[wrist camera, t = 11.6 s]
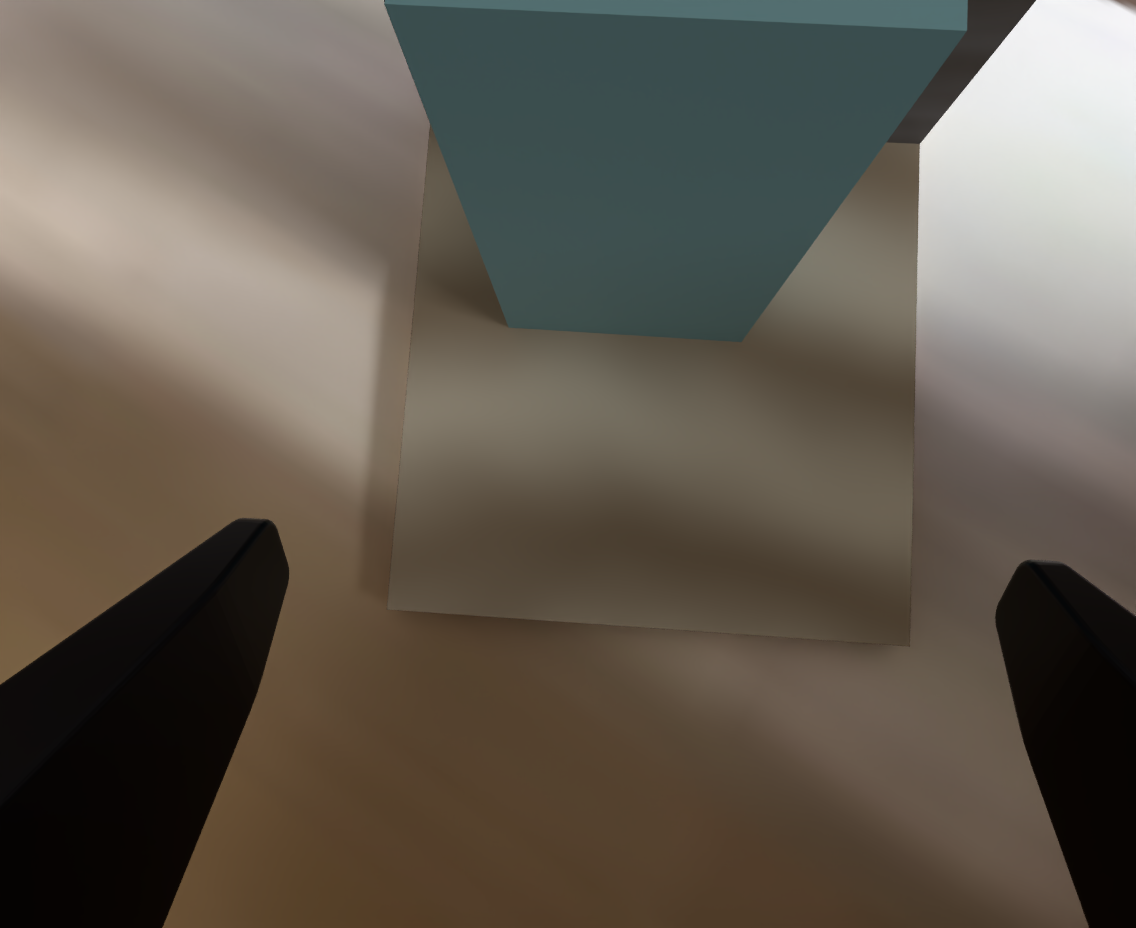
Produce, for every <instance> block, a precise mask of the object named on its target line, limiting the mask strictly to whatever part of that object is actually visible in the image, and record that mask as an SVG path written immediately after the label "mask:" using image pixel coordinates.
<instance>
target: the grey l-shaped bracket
mask: <svg viewBox="0 0 1136 928" xmlns="http://www.w3.org/2000/svg"><path fill="white" fill-rule="evenodd" d="M1035 1H1036V0H968V10H967V32H966V33H965V34H964V36H963V37H962V38H961V40H960V41H959V43H958V44H957V45H956V47H955V48H954V50H953V51H952V52H951V54H950V55H949V56H948V58H947V59H946V61H945V62H944V63H943V65H942V66H941V67H940V69H939V70H938V72H937V73H936V74H935V76H934V77H933V78H932V80H931V81H930V83H929V84H928V85H927V87H926V88H925V90H924V91H923V92H922V94H921V95H920V96H919V98H918V99H917V101H916V102H915V103H914V105H913V106H912V107H911V109H910V110H909V112H908V113H907V114H906V116H905V117H904V118H903V120H902V121H901V123H900V124H899V125H898V127H897V128H896V130H895V131H894V132H893V134H892V135H891V136H890V138H889V139H888V141H887V142H886V143H885V145H884V146H883V147H882V149H881V150H880V152H879V153H878V154H877V156H876V157H875V158H874V160H873V161H872V163H871V164H870V165H869V167H868V168H867V170H866V171H865V172H864V174H863V175H862V176H861V178H860V179H859V181H858V182H857V183H856V185H855V186H854V187H853V189H852V190H851V192H850V193H849V194H848V196H847V197H846V198H845V200H844V201H843V203H842V204H841V205H840V207H839V208H838V210H837V211H836V212H835V214H834V215H833V216H832V218H831V219H830V221H829V222H828V223H827V225H826V226H825V227H824V229H823V230H822V232H821V233H820V234H819V236H818V237H817V238H816V240H815V241H814V243H813V244H812V245H811V247H810V248H809V250H808V251H807V252H806V254H805V255H804V256H803V258H802V259H801V261H800V262H799V263H798V265H797V266H796V267H795V269H794V270H793V272H792V273H791V274H790V276H789V277H788V278H787V280H786V281H785V283H784V284H783V285H782V287H781V288H780V290H779V291H778V292H777V294H776V295H775V296H774V298H773V299H772V301H771V302H770V303H769V305H768V306H767V307H766V309H765V310H764V312H763V313H762V314H761V316H760V317H759V318H758V320H757V321H756V323H755V324H754V325H753V327H752V328H751V330H750V331H749V332H748V334H747V335H746V336H745V338H744V339H743V341H742V342H731V341H715V340H699V339H683V338H667V337H651V336H635V335H619V334H603V333H587V332H571V331H555V330H539V329H523V328H509V327H508V324H507V322H506V319H505V317H504V314H503V311H502V309H501V306H500V304H499V301H498V298H497V296H496V293H495V291H494V288H493V285H492V283H491V280H490V278H489V275H488V272H487V270H486V267H485V265H484V262H483V259H482V257H481V254H480V252H479V249H478V246H477V244H476V241H475V239H474V236H473V233H472V231H471V228H470V226H469V223H468V220H467V218H466V215H465V212H464V210H463V207H462V205H461V202H460V199H459V197H458V194H457V192H456V189H455V186H454V184H453V181H452V179H451V176H450V173H449V171H448V168H447V166H446V163H445V160H444V158H443V155H442V153H441V150H440V147H439V145H438V142H437V140H436V137H435V134H434V132H433V129H432V127H431V124H430V132H429V143H428V154H427V165H426V177H425V188H424V199H423V210H422V221H421V232H420V244H419V255H418V266H417V277H416V288H415V299H414V311H413V322H412V333H411V344H410V355H409V366H408V378H407V389H406V400H405V411H404V422H403V434H402V445H401V456H400V467H399V478H398V489H397V501H396V512H395V523H394V534H393V545H392V556H391V568H390V579H389V590H388V601H387V610H401V611H415V612H430V613H444V614H458V615H472V616H486V617H501V618H515V619H529V620H543V621H557V622H572V623H586V624H600V625H614V626H628V627H643V628H657V629H671V630H685V631H699V632H714V633H728V634H742V635H756V636H770V637H785V638H799V639H813V640H827V641H841V642H856V643H870V644H884V645H898V646H910V614H911V563H912V511H913V459H914V408H915V356H916V304H917V253H918V201H919V149H920V143H921V142H922V140H923V139H924V138H925V137H926V135H927V134H928V133H929V132H930V131H931V129H932V128H933V127H934V126H935V124H936V123H937V122H938V121H939V119H940V118H941V117H942V116H943V114H944V113H945V112H946V111H947V110H948V108H949V107H950V106H951V105H952V103H953V102H954V101H955V100H956V98H957V97H958V96H959V95H960V94H961V92H962V91H963V90H964V89H965V87H966V86H967V85H968V84H969V82H970V81H971V80H972V79H973V77H974V76H975V75H976V74H977V73H978V71H979V70H980V69H981V68H982V66H983V65H984V64H985V63H986V61H987V60H988V59H989V58H990V57H991V55H992V54H993V53H994V52H995V50H996V49H997V48H998V47H999V45H1000V44H1001V43H1002V42H1003V40H1004V39H1005V38H1006V37H1007V36H1008V34H1009V33H1010V32H1011V31H1012V29H1013V28H1014V27H1015V26H1016V24H1017V23H1018V22H1019V21H1020V20H1021V18H1022V17H1023V16H1024V15H1025V13H1026V12H1027V11H1028V10H1029V8H1030V7H1031V6H1032V5H1033V3H1034V2H1035ZM384 2H385V0H384Z"/></svg>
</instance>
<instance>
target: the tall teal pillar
mask: <svg viewBox="0 0 1136 928" xmlns="http://www.w3.org/2000/svg"><path fill="white" fill-rule="evenodd" d="M384 4H385V7H386V9H387V12H388V15H389V17H390V20H391V22H392V25H393V28H394V30H395V33H396V35H397V38H398V41H399V43H400V46H401V48H402V51H403V54H404V56H405V59H406V61H407V64H408V67H409V69H410V72H411V74H412V77H413V80H414V82H415V85H416V87H417V90H418V93H419V95H420V98H421V101H422V103H423V106H424V108H425V111H426V114H427V116H428V119H429V121H430V124H431V127H432V129H433V132H434V134H435V137H436V140H437V142H438V145H439V147H440V150H441V153H442V155H443V158H444V160H445V163H446V166H447V168H448V171H449V173H450V176H451V179H452V181H453V184H454V186H455V189H456V192H457V194H458V197H459V199H460V202H461V205H462V207H463V210H464V212H465V215H466V218H467V220H468V223H469V226H470V228H471V231H472V233H473V236H474V239H475V241H476V244H477V246H478V249H479V252H480V254H481V257H482V259H483V262H484V265H485V267H486V270H487V272H488V275H489V278H490V280H491V283H492V285H493V288H494V291H495V293H496V296H497V298H498V301H499V304H500V306H501V309H502V311H503V314H504V317H505V319H506V322H507V324H508V327H509V328H523V329H539V330H555V331H571V332H587V333H603V334H619V335H635V336H651V337H667V338H683V339H699V340H715V341H731V342H742V341H743V339H744V338H745V336H746V335H747V334H748V332H749V331H750V330H751V328H752V327H753V325H754V324H755V323H756V321H757V320H758V318H759V317H760V316H761V314H762V313H763V312H764V310H765V309H766V307H767V306H768V305H769V303H770V302H771V301H772V299H773V298H774V296H775V295H776V294H777V292H778V291H779V290H780V288H781V287H782V285H783V284H784V283H785V281H786V280H787V278H788V277H789V276H790V274H791V273H792V272H793V270H794V269H795V267H796V266H797V265H798V263H799V262H800V261H801V259H802V258H803V256H804V255H805V254H806V252H807V251H808V250H809V248H810V247H811V245H812V244H813V243H814V241H815V240H816V238H817V237H818V236H819V234H820V233H821V232H822V230H823V229H824V227H825V226H826V225H827V223H828V222H829V221H830V219H831V218H832V216H833V215H834V214H835V212H836V211H837V210H838V208H839V207H840V205H841V204H842V203H843V201H844V200H845V198H846V197H847V196H848V194H849V193H850V192H851V190H852V189H853V187H854V186H855V185H856V183H857V182H858V181H859V179H860V178H861V176H862V175H863V174H864V172H865V171H866V170H867V168H868V167H869V165H870V164H871V163H872V161H873V160H874V158H875V157H876V156H877V154H878V153H879V152H880V150H881V149H882V147H883V146H884V145H885V143H886V142H887V141H888V139H889V138H890V136H891V135H892V134H893V132H894V131H895V130H896V128H897V127H898V125H899V124H900V123H901V121H902V120H903V118H904V117H905V116H906V114H907V113H908V112H909V110H910V109H911V107H912V106H913V105H914V103H915V102H916V101H917V99H918V98H919V96H920V95H921V94H922V92H923V91H924V90H925V88H926V87H927V85H928V84H929V83H930V81H931V80H932V78H933V77H934V76H935V74H936V73H937V72H938V70H939V69H940V67H941V66H942V65H943V63H944V62H945V61H946V59H947V58H948V56H949V55H950V54H951V52H952V51H953V50H954V48H955V47H956V45H957V44H958V43H959V41H960V40H961V38H962V37H963V36H964V34H965V33H966V32H967V10H968V0H385V3H384Z"/></svg>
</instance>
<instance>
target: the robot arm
mask: <svg viewBox="0 0 1136 928" xmlns="http://www.w3.org/2000/svg"><path fill="white" fill-rule="evenodd" d="M288 580H289V567H288V562H287V559H286V556H285V553H284V550H283V546H282V543H281V540H280V537H279V534H278V530H277V528H276V526H275V524H274V523H273V522H272V521H271V520H268V519H254V518H240V519H237V520H235V521H233V522H232V523H230V524H229V525H227V526H226V527H224V528H223V529H222V530H220V531H219V532H217V533H216V534H214V535H213V536H212V537H210V538H209V539H207V540H206V541H204V542H203V543H202V544H200V545H199V546H197V547H196V548H194V549H193V550H192V551H190V552H189V553H187V554H186V555H184V556H183V557H182V558H180V559H179V560H177V561H176V562H175V563H173V564H172V565H170V566H169V567H167V568H166V569H165V570H163V571H162V572H160V573H159V574H157V575H156V576H155V577H153V578H152V579H150V580H149V581H147V582H146V583H145V584H143V585H142V586H140V587H139V588H137V589H136V590H135V591H133V592H132V593H130V594H129V595H127V596H126V597H125V598H123V599H122V600H120V601H119V602H117V603H116V604H115V605H113V606H112V607H110V608H109V609H107V610H106V611H105V612H103V613H102V614H100V615H99V616H98V617H96V618H95V619H93V620H92V621H90V622H89V623H88V624H86V625H85V626H83V627H82V628H80V629H79V630H78V631H76V632H75V633H73V634H72V635H70V636H69V637H68V638H66V639H65V640H63V641H62V642H60V643H59V644H58V645H56V646H55V647H53V648H52V649H50V650H49V651H48V652H46V653H45V654H43V655H42V656H40V657H39V658H38V659H36V660H35V661H33V662H32V663H31V664H29V665H28V666H26V667H25V668H23V669H22V670H21V671H19V672H18V673H16V674H15V675H13V676H12V677H11V678H9V679H8V680H6V681H5V682H3V683H2V684H1V685H0V928H162V927H163V925H164V922H165V920H166V918H167V915H168V913H169V910H170V908H171V905H172V903H173V900H174V898H175V895H176V893H177V890H178V888H179V886H180V883H181V881H182V878H183V876H184V873H185V871H186V868H187V866H188V863H189V861H190V858H191V856H192V854H193V851H194V849H195V846H196V844H197V841H198V839H199V836H200V834H201V831H202V829H203V826H204V824H205V822H206V819H207V817H208V814H209V812H210V809H211V807H212V804H213V802H214V799H215V797H216V794H217V792H218V790H219V787H220V785H221V782H222V780H223V777H224V775H225V772H226V770H227V767H228V765H229V762H230V760H231V758H232V755H233V753H234V750H235V748H236V745H237V743H238V740H239V738H240V735H241V733H242V730H243V728H244V726H245V723H246V721H247V718H248V716H249V713H250V711H251V708H252V705H253V703H254V700H255V697H256V695H257V692H258V689H259V685H260V682H261V679H262V676H263V672H264V668H265V665H266V661H267V658H268V654H269V650H270V647H271V643H272V640H273V636H274V632H275V629H276V625H277V622H278V618H279V614H280V611H281V607H282V604H283V600H284V596H285V593H286V589H287V586H288ZM995 619H996V628H997V632H998V636H999V641H1000V645H1001V649H1002V654H1003V658H1004V662H1005V666H1006V671H1007V675H1008V679H1009V684H1010V688H1011V692H1012V697H1013V701H1014V705H1015V709H1016V714H1017V718H1018V722H1019V726H1020V730H1021V734H1022V737H1023V741H1024V745H1025V748H1026V751H1027V754H1028V757H1029V760H1030V763H1031V766H1032V769H1033V771H1034V774H1035V777H1036V780H1037V783H1038V785H1039V788H1040V791H1041V794H1042V797H1043V799H1044V802H1045V805H1046V808H1047V811H1048V813H1049V816H1050V819H1051V822H1052V825H1053V827H1054V830H1055V833H1056V836H1057V839H1058V841H1059V844H1060V847H1061V850H1062V853H1063V855H1064V858H1065V861H1066V864H1067V867H1068V869H1069V872H1070V875H1071V878H1072V881H1073V883H1074V886H1075V889H1076V892H1077V895H1078V897H1079V900H1080V903H1081V906H1082V909H1083V911H1084V914H1085V917H1086V920H1087V923H1088V925H1089V928H1136V616H1135V615H1133V614H1132V613H1131V612H1129V611H1128V610H1127V609H1125V608H1124V607H1123V606H1121V605H1120V604H1119V603H1117V602H1116V601H1115V600H1113V599H1112V598H1111V597H1109V596H1108V595H1106V594H1105V593H1104V592H1102V591H1101V590H1100V589H1098V588H1097V587H1096V586H1094V585H1093V584H1092V583H1090V582H1089V581H1088V580H1086V579H1085V578H1084V577H1082V576H1081V575H1080V574H1078V573H1077V572H1076V571H1074V570H1073V569H1071V568H1070V567H1069V566H1067V565H1066V564H1064V563H1061V562H1057V561H1043V560H1026V561H1024V562H1022V563H1021V564H1020V565H1019V566H1018V567H1017V569H1016V571H1015V573H1014V574H1013V576H1012V578H1011V580H1010V582H1009V584H1008V586H1007V588H1006V590H1005V592H1004V594H1003V595H1002V597H1001V599H1000V601H999V603H998V606H997V609H996V616H995Z"/></svg>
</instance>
